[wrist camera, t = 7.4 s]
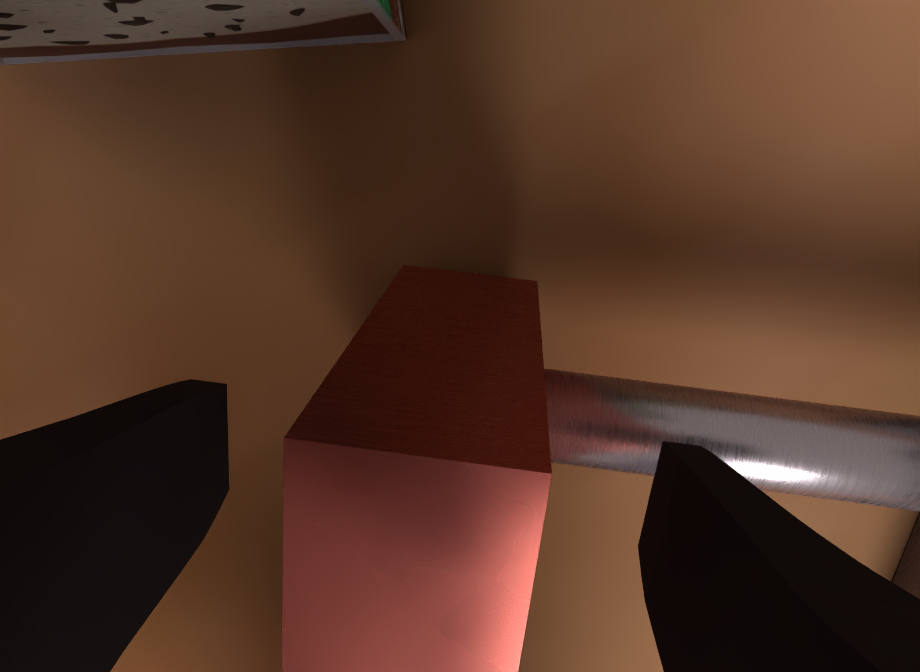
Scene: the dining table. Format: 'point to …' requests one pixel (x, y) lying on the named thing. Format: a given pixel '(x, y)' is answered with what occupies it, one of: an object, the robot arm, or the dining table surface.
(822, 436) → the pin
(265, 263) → the dining table surface
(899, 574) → the eye bracket
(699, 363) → the dining table surface
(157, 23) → the food container
